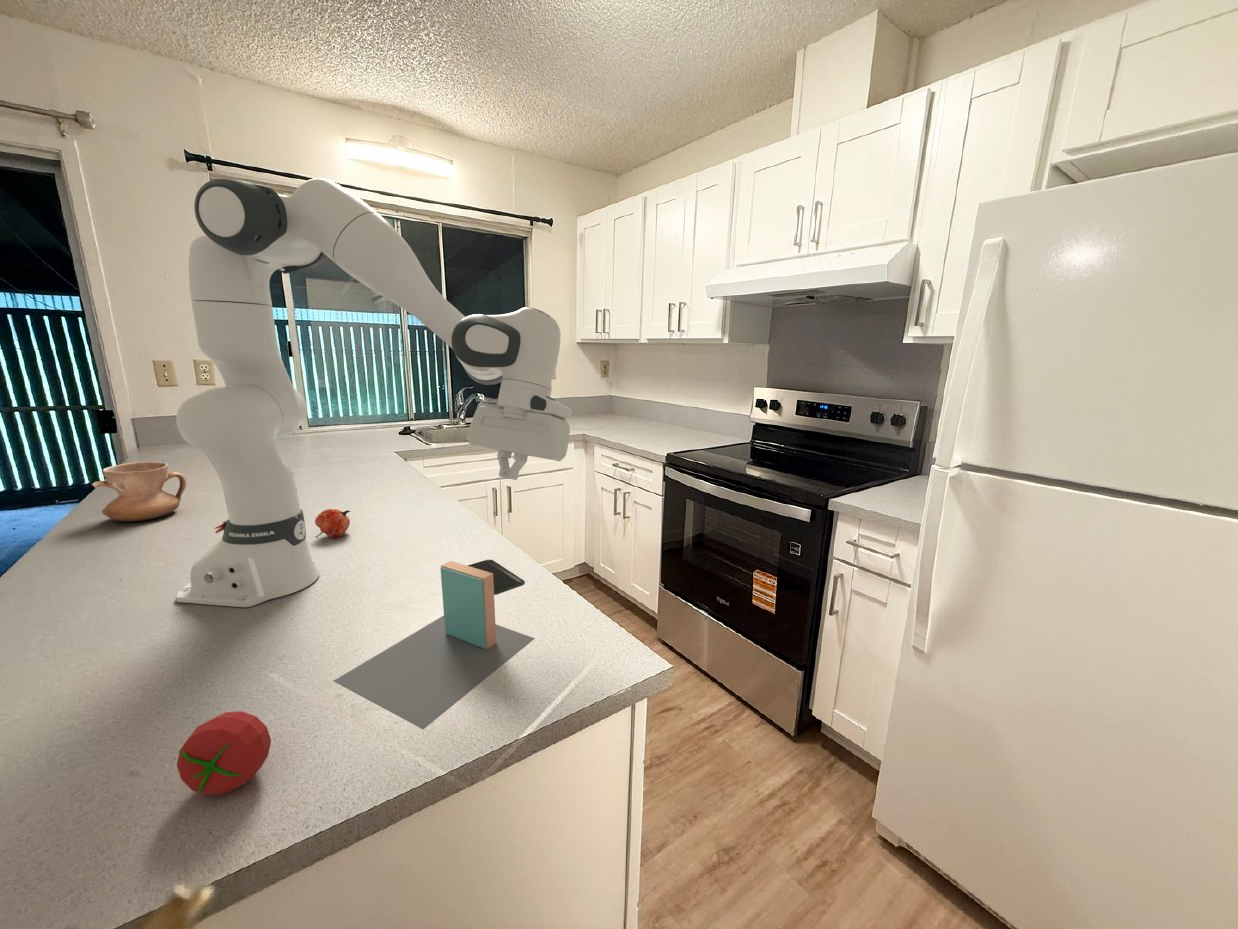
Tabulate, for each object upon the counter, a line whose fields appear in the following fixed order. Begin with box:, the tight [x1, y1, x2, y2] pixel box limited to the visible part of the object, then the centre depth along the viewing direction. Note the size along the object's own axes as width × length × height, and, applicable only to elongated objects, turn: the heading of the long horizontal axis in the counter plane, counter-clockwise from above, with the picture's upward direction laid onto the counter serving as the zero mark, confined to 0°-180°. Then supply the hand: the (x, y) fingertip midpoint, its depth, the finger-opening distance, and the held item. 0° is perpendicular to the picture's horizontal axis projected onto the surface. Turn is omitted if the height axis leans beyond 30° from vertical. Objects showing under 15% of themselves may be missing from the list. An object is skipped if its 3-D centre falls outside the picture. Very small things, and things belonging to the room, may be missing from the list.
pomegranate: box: [314, 508, 351, 539], centre depth 119 cm, size 7×7×10 cm
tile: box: [440, 560, 497, 649], centre depth 77 cm, size 2×9×12 cm, turn 62°
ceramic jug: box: [91, 461, 187, 522], centre depth 130 cm, size 18×14×14 cm
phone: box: [467, 559, 526, 596], centre depth 99 cm, size 8×1×15 cm
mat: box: [333, 615, 535, 730], centre depth 73 cm, size 22×18×1 cm
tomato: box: [176, 710, 272, 796], centre depth 51 cm, size 8×8×8 cm
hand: (507, 478), depth 85 cm, fingers closed
